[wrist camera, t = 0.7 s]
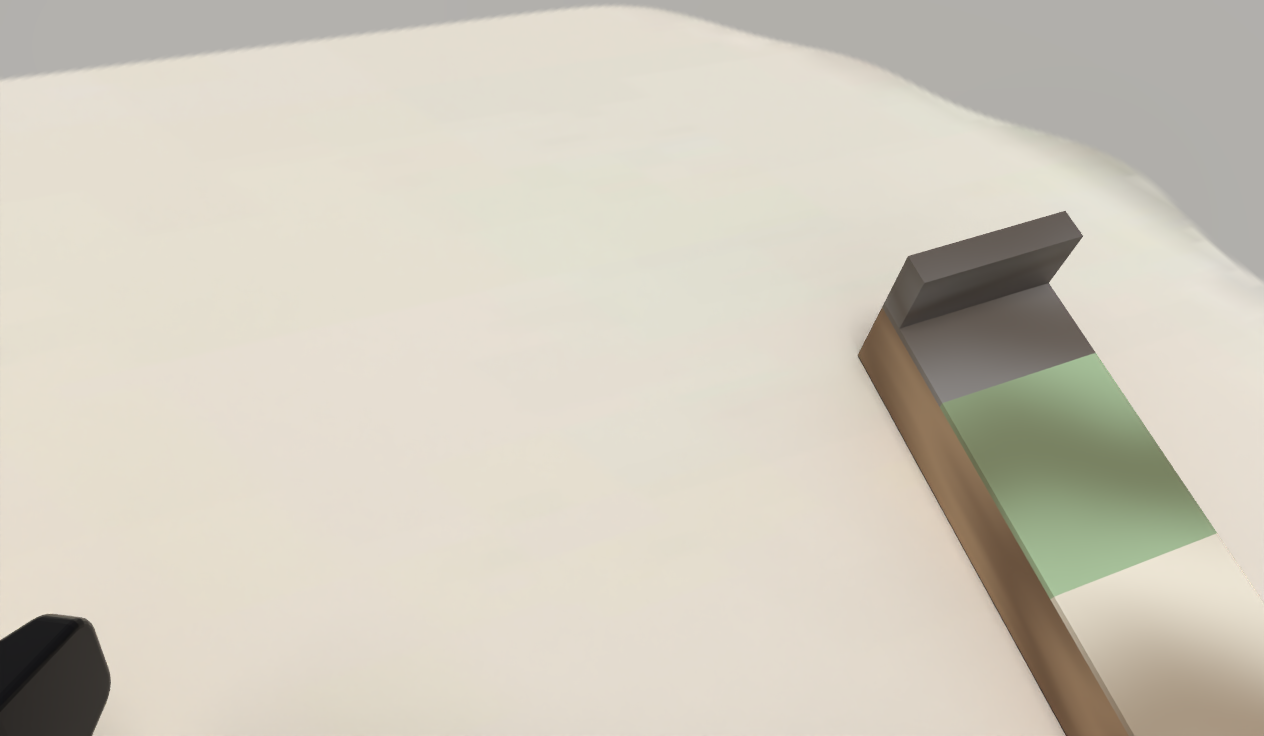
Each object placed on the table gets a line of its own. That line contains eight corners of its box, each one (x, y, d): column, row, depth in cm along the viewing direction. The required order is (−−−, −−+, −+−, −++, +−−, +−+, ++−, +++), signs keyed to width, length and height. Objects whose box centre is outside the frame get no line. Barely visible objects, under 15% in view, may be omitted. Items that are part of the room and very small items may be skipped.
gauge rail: (1374, 910, 22) (1555, 901, 18) (1209, 995, 21) (1362, 1005, 17) (995, 312, 29) (1065, 210, 25) (858, 355, 28) (908, 256, 24)
